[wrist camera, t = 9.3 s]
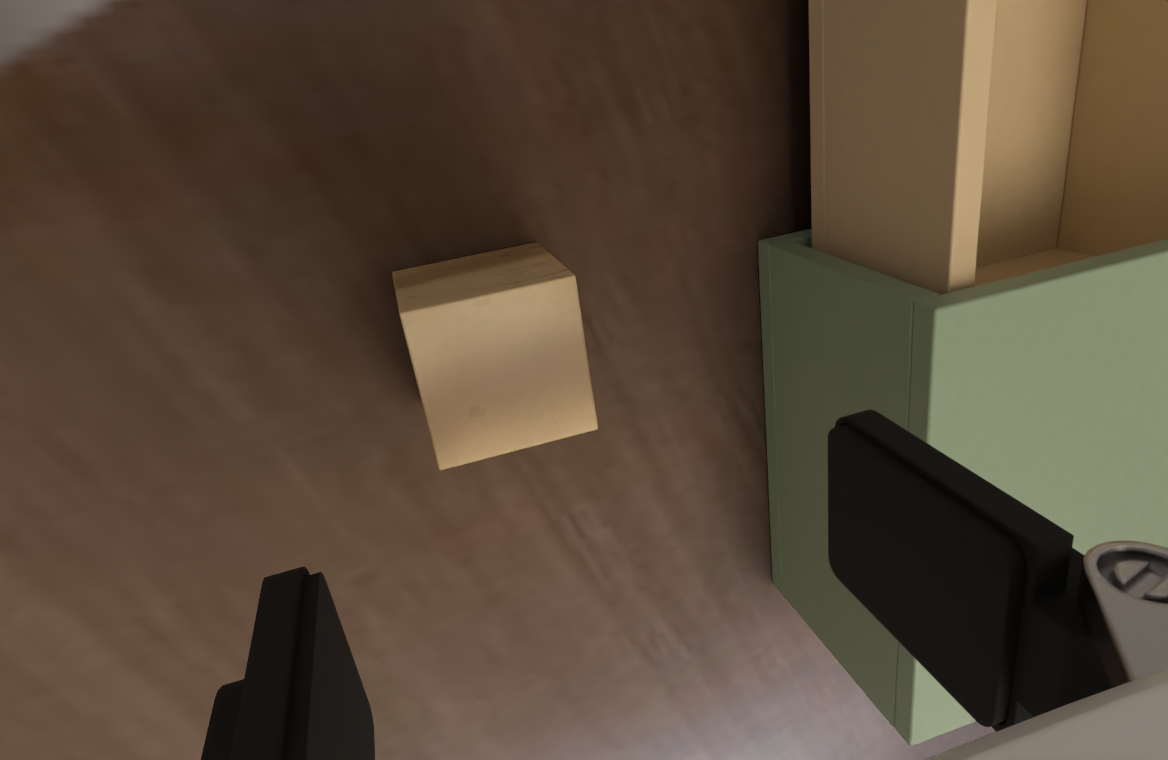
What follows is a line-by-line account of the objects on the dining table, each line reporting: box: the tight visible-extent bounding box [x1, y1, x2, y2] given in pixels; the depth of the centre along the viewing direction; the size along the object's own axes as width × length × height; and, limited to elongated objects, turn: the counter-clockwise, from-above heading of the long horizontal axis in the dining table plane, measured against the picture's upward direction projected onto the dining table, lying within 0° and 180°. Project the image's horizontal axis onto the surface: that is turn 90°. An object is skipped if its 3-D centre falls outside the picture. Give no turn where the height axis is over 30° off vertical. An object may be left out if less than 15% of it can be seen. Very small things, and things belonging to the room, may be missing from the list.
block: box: [392, 242, 598, 470], centre depth 21 cm, size 4×4×4 cm
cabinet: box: [758, 229, 1168, 746], centre depth 25 cm, size 15×13×9 cm
